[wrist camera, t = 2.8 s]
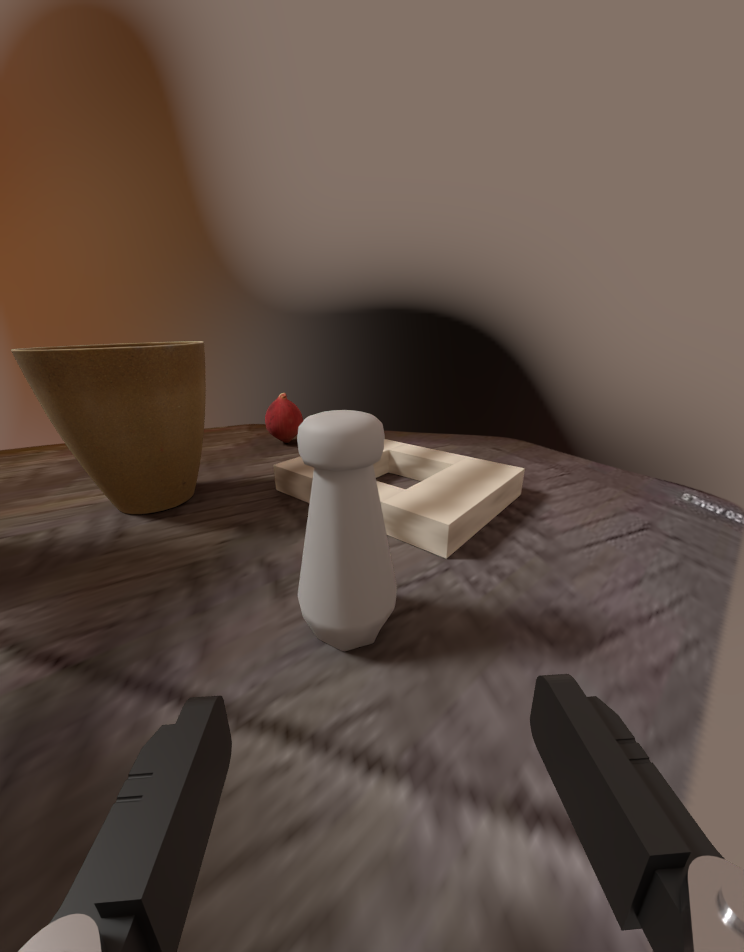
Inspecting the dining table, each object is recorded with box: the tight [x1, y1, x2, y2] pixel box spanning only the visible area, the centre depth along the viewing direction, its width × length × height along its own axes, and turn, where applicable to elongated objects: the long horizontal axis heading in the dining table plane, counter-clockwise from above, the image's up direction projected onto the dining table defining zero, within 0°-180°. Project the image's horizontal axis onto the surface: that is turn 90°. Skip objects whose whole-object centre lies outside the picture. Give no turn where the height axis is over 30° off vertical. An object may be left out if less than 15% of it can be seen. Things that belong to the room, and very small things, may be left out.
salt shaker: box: [297, 410, 397, 652], centre depth 21 cm, size 6×6×13 cm
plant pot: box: [11, 341, 206, 514], centre depth 38 cm, size 15×15×16 cm
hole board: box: [273, 439, 524, 559], centre depth 41 cm, size 22×16×3 cm
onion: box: [265, 393, 303, 443], centre depth 60 cm, size 6×6×8 cm
